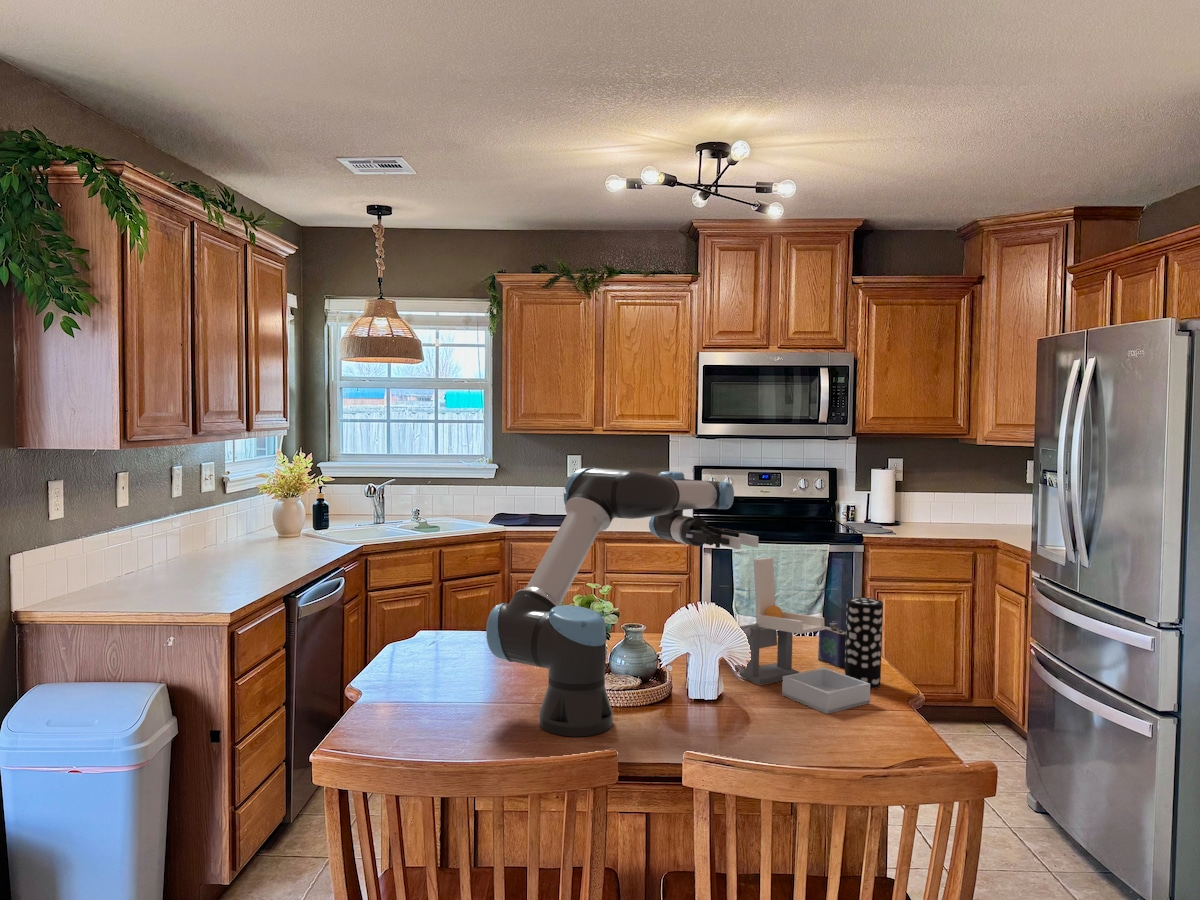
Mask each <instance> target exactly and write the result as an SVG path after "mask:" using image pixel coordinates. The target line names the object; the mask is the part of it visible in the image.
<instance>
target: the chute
mask: <svg viewBox="0 0 1200 900" xmlns="http://www.w3.org/2000/svg"><path fill="white" fill-rule="evenodd" d="M774 565H775V564H774V557H765V558H764V557H763V558H754V559H753V573H754V574H753V575H754V597H755V621H756V622H755V623H752V624H745V625H740V628H741V629H742V630H743V631H744V629H745V626H751V625H752V626H755V627H758V628H760V642H759V649H764V648H770V647H775V646H778V633H777V632H778V630H780V631H786V632H792V633H793V634H798V635H802V634H807V633H813V632H819V631H820V630H825V627H826V626H825V617H822V616H817V615H816V616H815V615H809V614H802V613H796V612H787V611H782V618H779V617H773V616H766V610H767V608H768V607H770V606H776V593H775V567H774Z"/></svg>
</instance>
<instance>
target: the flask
mask: <svg viewBox="0 0 1200 900" xmlns="http://www.w3.org/2000/svg"><path fill="white" fill-rule="evenodd" d="M829 625H830V627H829V626H825V630H820V631H818V647H817V648H818V652H817V659H818V660H817V661H819V660H820V661H819V662H821V661H822V663H825V664H827V663H829V664H828V665H831V664H832V665H834V666H833V667H835V666H836V668H838V667H839V668H838V669H842V668H844V669H845V645H846V631H843V630H842V629H840V630H839V627H838V626H836V625H838V622H832V623H829ZM832 665H831V666H832Z"/></svg>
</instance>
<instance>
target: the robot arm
mask: <svg viewBox="0 0 1200 900" xmlns="http://www.w3.org/2000/svg"><path fill="white" fill-rule="evenodd" d="M564 489H565V491H564V492H563V502H564V506H565V508H564V509H565V512H566V516H565V517H564V519H563V521H562V523H561V525H560V526H559V528H558V530H557V532H556V534H555V535H554V536H553V538H552V541H551V543H550V544H549V546H548V548H547V550H546V551H545V553H544V555H543V556H542V558H541V560H540V562H539V564H538V566H537V567H536V569H535V571H534V573H533V575H532V576H531V578H530V580H529V581H528V583H527V584H526V586H525V588H522V589H518V590H516V592H515V593H514V594H513V595H512V597H511V599H510V601H509V603H507V602H506V603H505V602H502V603H499V604H497V605H495V606H494V607H492V609H491V611H490V612H489V616H488V618H487V621H486V630H485V631H486V642H487V646H488V648H489V650H490V651H491V654H493V655H494V656H495V657H496V658H498V659H500V660H501V659H502V660H505V661H508V662H509V663H518V664H523V665H526V666H528V665H529V666H534V667H539V668H543V669H548V670H547V671H548V673H547V674H548V676H547V677H548V684H547V688H546V691H545V693H544V694H545V695H544V697H543V701H542V702H541V703H542V704H541V706H540V709H539V713H538V715H539V716H538V717H539V718H538V725H539V726H540V727H541V729H543V730H544V731H546V732H548V733H551V734H554V735H558V736H564V737H589V736H594V735H598V734H602V733H604V732H606V731H609V729H611V728H612V726H613V721H614V720H613V716H614V714H613V710H612V706H611V703H610V700H609V696H608V693H607V689H606V686H605V685H606V683H605V682H606V679H605V678H606V651H607V650H606V648H607V647H606V646H607V645H606V644H607V631H606V630H607V629H606V621H605V619H604V617H603V616H602V614H601V613H599V612H598V611H595V610H593V609H590V608H587V607H583V606H579V605H573V606H572V605H569V604H565V605H564V604H563V605H562V603H563V601H564V600H565V597H566V596H567V593H568V591H569V590H570V588H571V586H572V584H573V582H574V580H575V579H576V576H577V574H578V573H579V571H580V569H581V567H582V565H583V563H584V561H585V559H586V557H587V555H588V553H589V552H590V550H591V547H593V543H594V542H595V540H596V538H597V536H598V534H599V532H604V531H606V530H607V529H608V528H609V527H610V525H611V523H612V521H613V520H614V518H617V519H627V520H628V519H630V520H633V519H643V518H644V519H645V518H649V517H650V519H649V522H648V528H649V531H650V533H651V534H652V535H654V537H657V538H660V539H661V540H667V541H673V542H677V543H681V544H682V546H685V545H689V546H694V547H702V546H703V545H708V546H713V545H715V546H714V547H715V548H716V549H718V548H719V549H720V548H721V547H727V548H732V549H736V550H740V549H741V545H743V546H748V547H752V548H759V536H757V535H753V534H752V535H751V534H748V532H746V531H744V530H735V529H734V530H733V529H728V528H725V527H722V528H720V527H719V528H718V527H715V526H711V525H709V523H707V521H706V520H704V519H703V518H698V517H697V518H696V517H694V516H688V515H684V510H699V509H701V510H702V509H704V510H705V509H714V510H715V509H717V510H728V509H730V508H731V507H732V506H733V503H734V500H735V499H734V498H735V489H734V486H733V485H732V484H731V482H729V481H722V480H719V481H716V480H715V481H714V480H698V479H688V478H686V477H685V474H684V472H682V471H670V470H669V471H668V470H667V471H660V472H659V473H658V474H652V473H649V472H643V471H641V470H640V471H638V470H633V469H614V468H600V467H584V468H579V469H577V470H575V471H574V472H572V474H571V475H570V476H569V477H568V479H567V481H566V483H565V485H564ZM547 595H548V596H547Z"/></svg>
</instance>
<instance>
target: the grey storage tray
mask: <svg viewBox="0 0 1200 900" xmlns="http://www.w3.org/2000/svg"><path fill="white" fill-rule="evenodd" d="M781 684H782V686H781V687H782V689H781V692H782V693H781V696H782V695H783V696H782V697H784V696H786V697H785V698H787V697H788V698H787V699H789V698H790V699H789V700H791V701H794V700H795V701H794V702H796V701H797V703H799V702H800V704H801V703H802V704H801V705H804V706H806V705H807V706H806V707H808V708H812V709H814V710H816V711H819V712H821V713H823V714H827V715H829V713H830V714H834V713H837V712H840V711H845V710H849V709H853V707H854V708H858V707H861V705H862V706H865V704H866V705H868V704H869V703H870V702H871V701H870V700H871V689H870V683H867V682H864V681H861V680H858V679H855V678H853V677H850V676H847V675H845V673H844V674H843V673H841V672H838V671H835V670H833V669H830V668H826V667H821V668H817V669H816V668H815V669H812V670H811V669H810V670H808V671H802V672H799V673H796V674H791V675H786V676H783V681H781ZM857 706H858V707H857Z"/></svg>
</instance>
